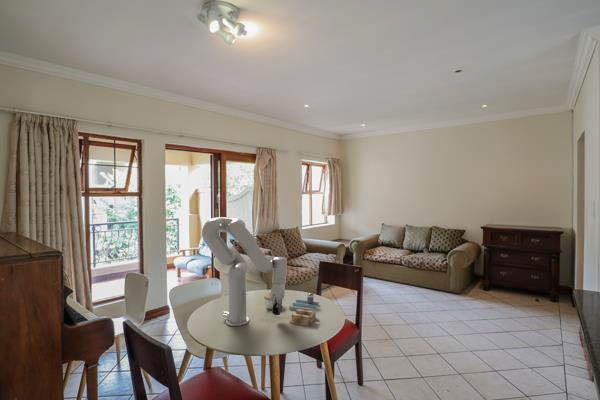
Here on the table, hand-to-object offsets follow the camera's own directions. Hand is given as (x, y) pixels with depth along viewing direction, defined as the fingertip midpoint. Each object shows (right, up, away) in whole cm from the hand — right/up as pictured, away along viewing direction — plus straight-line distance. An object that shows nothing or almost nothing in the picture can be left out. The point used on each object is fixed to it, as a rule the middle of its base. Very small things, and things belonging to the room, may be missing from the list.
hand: (276, 312), depth 164 cm
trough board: (+15, -5, +19) cm, 25 cm away
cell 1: (0, -1, 0) cm, 1 cm away
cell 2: (+19, -4, +20) cm, 28 cm away
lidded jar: (-4, -5, +20) cm, 21 cm away
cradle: (+15, -5, +1) cm, 16 cm away
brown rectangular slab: (+14, -3, +1) cm, 14 cm away
